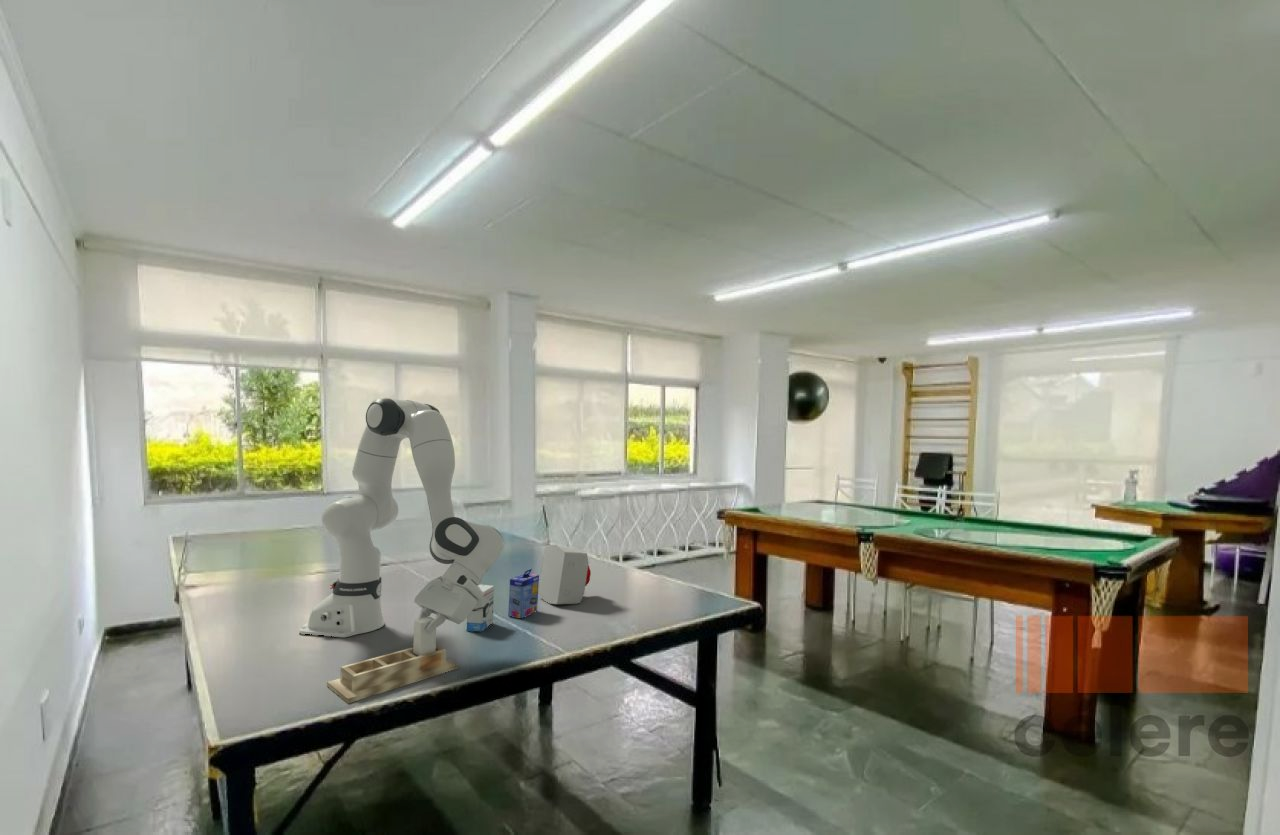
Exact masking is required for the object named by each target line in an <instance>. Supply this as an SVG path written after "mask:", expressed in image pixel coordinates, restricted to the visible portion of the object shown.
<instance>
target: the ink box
mask: <svg viewBox="0 0 1280 835" xmlns="http://www.w3.org/2000/svg"><path fill="white" fill-rule="evenodd" d="M478 586H479V588H480V589H481V590H482V591H483V593H484V596H483V597H482V599H481V600H477V604H476V606H475V607H474V609H473V610H472V611H471V613H470V614H469V615H468V617H467V618H466V631H467V632H473V631H482V630H483V629H485V628H486V627H487V626H489V625H490V624H492V623H493V624H494V605H495V604H494V600H495V599H494V598H495V596H494V594H495V585H491V584H490V585H489V584H478ZM493 624H492V625H493ZM490 626H491V625H490ZM490 626H489V627H490ZM487 628H488V627H487ZM487 628H486V629H487ZM486 629H485V630H486ZM483 631H484V630H483ZM483 631H482V632H483Z"/></svg>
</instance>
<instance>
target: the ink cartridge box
mask: <svg viewBox="0 0 1280 835" xmlns="http://www.w3.org/2000/svg"><path fill="white" fill-rule="evenodd" d="M532 570H533V569H532V568H530V569H528V570H525V571H524V573H521V574H520V575H516V576H514V577H511V578H510V579H509V594H508V610H507V612H508V615H507V616H508V617H509V616H512V617H511V618H514V617H517V618H516V619H518V618H522V619H524V618H526V617H528V616H530V615H532V614H531V613H533V612H535V611H537V612H538V605H539V604H538V601H539V594H538V592H539V586H540V575H539V574H537V573H536V574H535V573H531V572H532ZM535 613H536V612H535ZM529 614H530V615H529ZM533 614H534V613H533ZM527 615H528V616H527ZM525 616H526V617H525ZM523 617H524V618H523Z"/></svg>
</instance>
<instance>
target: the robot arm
mask: <svg viewBox="0 0 1280 835" xmlns="http://www.w3.org/2000/svg"><path fill="white" fill-rule="evenodd" d="M365 423H366V425H365V428H364V430H363V433H362V435H361V437H360V440H359V444H358V447H357V450H356V451H357V452H356V454H355V455H356V456H355V458H354V463H353V466H352V467H353V468H352V477H353V479H354V480H355V481H356V482H357V485H358V492H357V496H353V497H346V498H345V497H344V498H341V499H339V500H336V501H334V502H332V503H329V504H328V505H327V506H326V507H325V508H324V510H323V512H322V516H321V523H322V526H323V529H324V530H325V532H326V533H327V534H329V535H330V536H331V537H332V538H333V540H334V541H335V543H336V546H337V549H338V550H337V551H338V555H339V578H338V579H337V580H336V581H334V582H333V583H332V584H330V585H329V586H330V588H329V589H330V590H332V593H330V594H329V595H328V596H326V597H325V598H323V600H321V601H320V602H318V604H316V605H315V606H314V607H313V608H312V610H311V612H310V615H309V617H308V618H309V619H308V621H307V622H306V623H304V624H303V625H302V626H301V627H299V632H298V633H301V634H300V635H305V634H310V635H309V636H318V635H324V636H323V637H331V636H332V637H336V638H348V637H352V636H355V635H359V634H365V633H369V632H373V631H375V630H377V629H378V630H379V629H380V628H382V627H383V626H384V625H385V623H386V622H385V621H384V616H383V612H382V604H381V597H382V591H383V585H382V584H383V583H382V576H381V560H382V553H381V551H380V549H379V548H378V547H376V546H375V545H374V543H373V541H372V538H371V532H373V531H376V530H377V531H378V530H381V529H383V528H385V527H387V526H389V525H391V524H392V523H394V522H395V520H396V519H397V518H398V515H399V506H398V502H397V501H396V499H395V498H394V497H393V489H392V488H393V487H392V483H393V475H394V471H395V467H396V462H397V458H398V454H399V449H400V445H401V442H402V441H403V440H405V439H407V438H408V439H409V442H410V444H409V445H410V449H411V454H412V459H413V462H414V465H415V469H416V470H417V473H418V476H419V478H420V481H421V484H422V487H423V489H424V492H425V494H426V498H427V504H428V510H429V513H430V514H429V515H430V521H431V526H432V527H431V528H432V533H431V538H430V542H429V553H430V555H431V557H432V558H433V560H435V561H437V563H440V564H444V565H449V567H448V568H447V570H446V571H445V572H444V573H443V575H441V576H439V577H437V578H434V579H432V580H430V581H429V582H427V584H426V585H425V586H424V587H423V588H421V590H420V591H419V592H418V594H417V595H416V596H415V598H414V599H413V602H414V604H416V605H417V606H418V608H421V610H420V613H419V616H418V619H421V618H425V617H431V615H432V614H434V615H435V618H434V620H433V621H432V622H431V623H429V622H428V624H427V625H426V626H425V630H426V631H427V632H429V633H432V632H433V631H434V630H435V628H436V629H437V628H438V627H440V626H441V625H442V624H444V623H445V621H446V620H448V621H450V622H453V623H454V624H458V625H460V624H461V623H463V622H465V621H466V620H467V617H468V615H469V614H470V613H471V611H472V610H473V609H474V607H475V606H476V604H477V600H481V599H482V597H483V596H484V593H483V591H482V590H481V589H480V588H479V586H478V585H480V583H481V582H482V580H483V577H484V575H485V574H486V573H487V572H488V571H490V570H491V569H492V567H493V566H494V565H495V563H496V562H497V560H498V558H500V556H501V554H502V552H503V551H504V547H505V540H504V537H503V535H502V534H501V533H500V532H499V531H498V530H497V528H495V527H494V526H492V525H489V524H485V525H483V524H482V525H481V524H476V523H472V522H469V521H467V520H464V519H463V518H460V517H458V516H455V512H454V507H453V502H452V496H451V495H452V494H451V491H452V490H451V489H452V481H453V476H454V472H455V467H456V456H455V454H456V452H455V447H454V442H453V439H452V436H451V433H450V429H449V427H448V424H447V422H446V420H445V418H444V416H443V415H442V414H441V412H440V410H439V409H438V408H437V407H435V406H433V405H431V404H429V403H421V402H419V401H414V400H408V399H392V398H387V397H385V398H379V399H374V400H373V401H372V402H371V403H370V405H368V408H367V410H366V413H365ZM311 634H312V635H311Z"/></svg>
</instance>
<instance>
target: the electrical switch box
mask: <svg viewBox="0 0 1280 835" xmlns="http://www.w3.org/2000/svg"><path fill="white" fill-rule="evenodd" d="M542 561H543V562H542V568H541V574H540V578H539V586H538V597H540V598H541V599H542V600H543V601H544V602H545V601H546V602H548V603H547V604H552V605H579V604H578V603H581V601H582V599H583V597H584V595H585V589H586V587H587V586H588V584H589V583H590V580H591V569H590V566H589V558H588V553H587V552H584V551H581V550H578V549H576V548H573V547H569V546H564V545H557V544H547V545H545V549H544V555H543V560H542ZM546 602H545V603H546Z"/></svg>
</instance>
